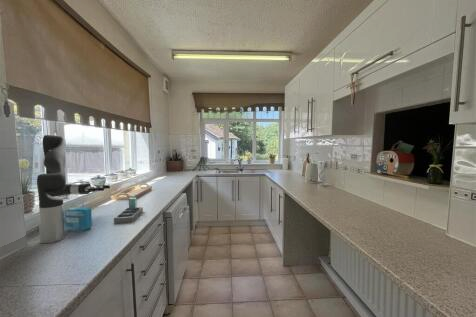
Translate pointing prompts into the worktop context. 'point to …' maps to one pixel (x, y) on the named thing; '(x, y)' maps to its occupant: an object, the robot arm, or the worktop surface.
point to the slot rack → (128, 215)
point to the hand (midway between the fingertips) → (106, 187)
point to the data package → (78, 219)
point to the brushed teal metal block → (132, 203)
